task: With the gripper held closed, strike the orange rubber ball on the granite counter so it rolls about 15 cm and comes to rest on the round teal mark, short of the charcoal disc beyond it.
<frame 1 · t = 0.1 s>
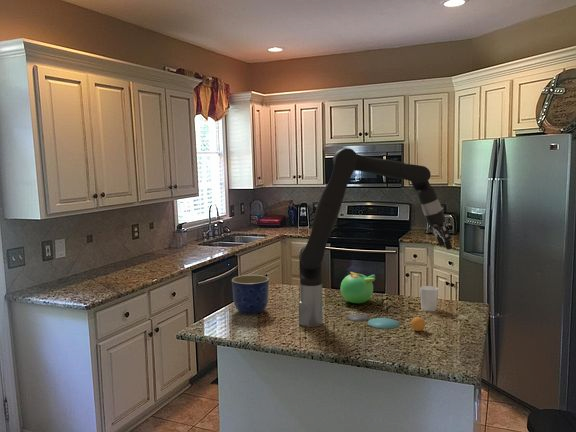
hand: (445, 247, 196), 31 cm above the worktop, tool tilted 20°, fingers open, 8 cm apart
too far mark: (358, 318, 204), on the worktop
planter: (251, 312, 215), on the worktop
ball: (418, 324, 187), on the worktop
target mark: (383, 323, 196), on the worktop
toy bird: (357, 302, 227), on the worktop
white cup: (428, 309, 215), on the worktop
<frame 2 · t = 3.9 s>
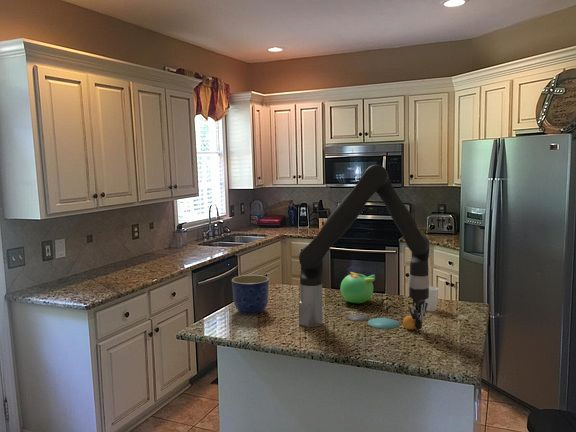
hand: (418, 328, 186), 1 cm above the worktop, tool pointing down, fingers closed
ball: (410, 322, 189), on the worktop, touching gripper
everything else where it was.
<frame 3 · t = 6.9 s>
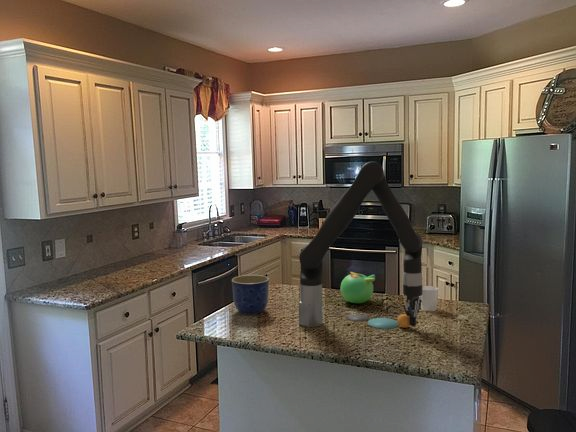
hand: (412, 325, 188), 2 cm above the worktop, tool pointing down, fingers closed
ball: (404, 320, 191), on the worktop, touching gripper
everything else where it was.
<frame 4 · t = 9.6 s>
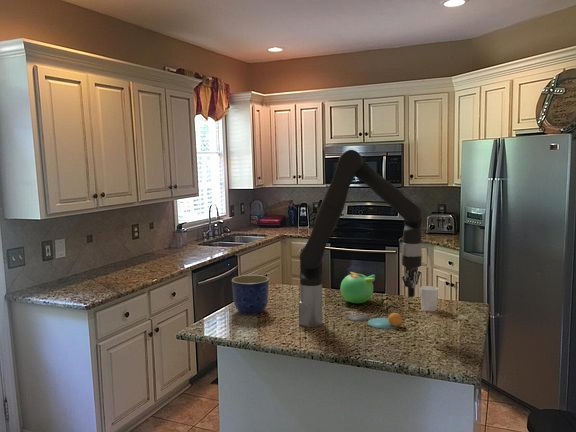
hand: (411, 296, 188), 14 cm above the worktop, tool pointing down, fingers closed
ball: (395, 319, 193), on the worktop
everything else where it was.
at the end: ball 5.2 cm from the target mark (horizontally); ball at rest at the end (0.0 cm/s); ball moved 9.8 cm from its start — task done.
